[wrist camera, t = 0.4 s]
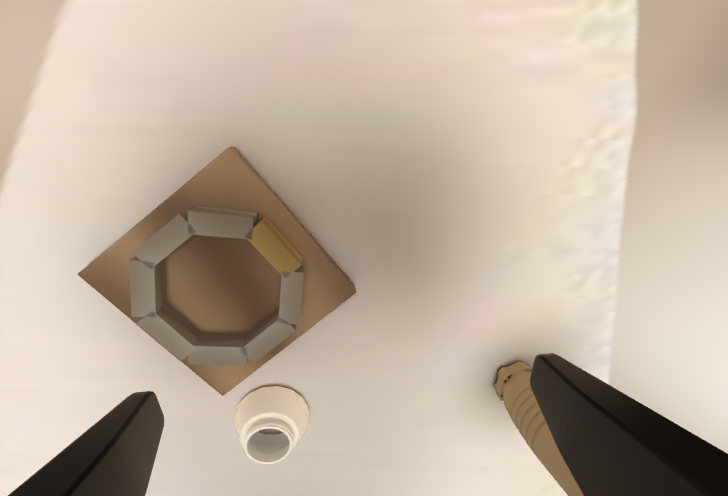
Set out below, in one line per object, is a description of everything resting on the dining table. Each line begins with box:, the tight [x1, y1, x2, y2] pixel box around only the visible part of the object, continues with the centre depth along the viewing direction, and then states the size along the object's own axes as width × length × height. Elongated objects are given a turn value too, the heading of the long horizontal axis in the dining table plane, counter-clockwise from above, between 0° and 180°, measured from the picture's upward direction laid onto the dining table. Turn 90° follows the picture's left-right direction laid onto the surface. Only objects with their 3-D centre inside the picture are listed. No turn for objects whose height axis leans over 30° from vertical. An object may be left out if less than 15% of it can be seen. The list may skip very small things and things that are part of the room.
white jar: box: [234, 386, 309, 464], centre depth 24 cm, size 5×3×5 cm
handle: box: [494, 362, 584, 496], centre depth 20 cm, size 5×6×15 cm
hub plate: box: [78, 147, 356, 396], centre depth 21 cm, size 11×11×3 cm
